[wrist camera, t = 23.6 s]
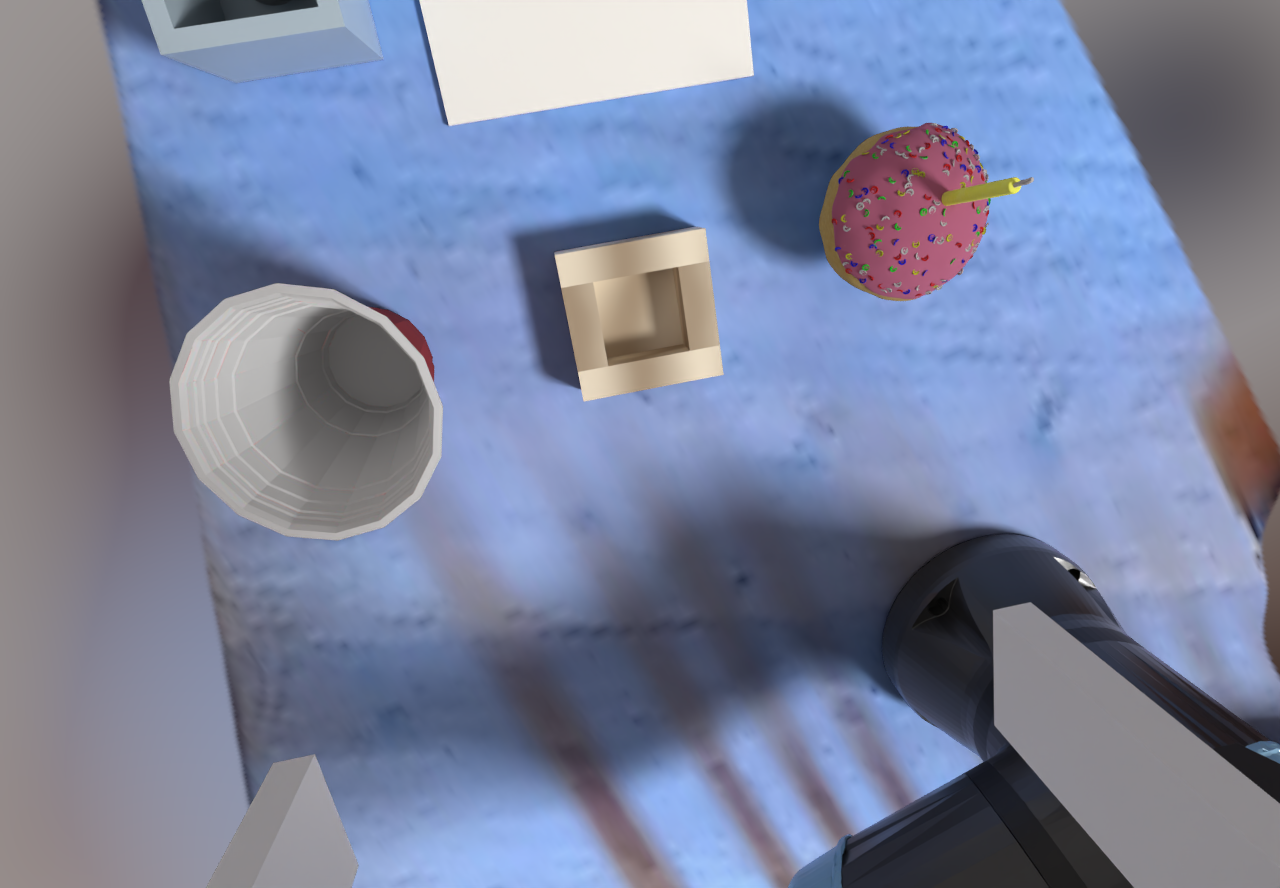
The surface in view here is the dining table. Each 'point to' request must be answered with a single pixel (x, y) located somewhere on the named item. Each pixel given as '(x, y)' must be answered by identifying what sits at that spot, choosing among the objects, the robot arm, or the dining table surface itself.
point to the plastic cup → (308, 410)
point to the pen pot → (264, 35)
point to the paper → (578, 51)
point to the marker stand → (641, 312)
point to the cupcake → (908, 211)
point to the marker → (273, 2)
